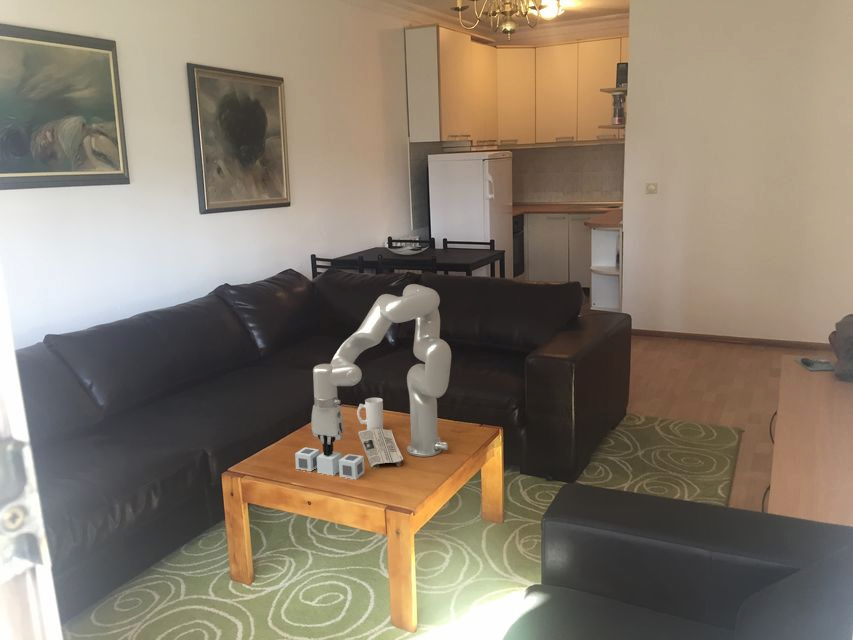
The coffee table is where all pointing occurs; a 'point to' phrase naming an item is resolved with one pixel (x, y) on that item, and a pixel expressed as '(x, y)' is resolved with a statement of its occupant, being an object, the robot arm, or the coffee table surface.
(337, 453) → the plain block
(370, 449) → the newspaper
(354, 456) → the marked block near
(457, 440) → the coffee table surface
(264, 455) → the coffee table surface
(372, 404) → the mug
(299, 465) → the marked block far
